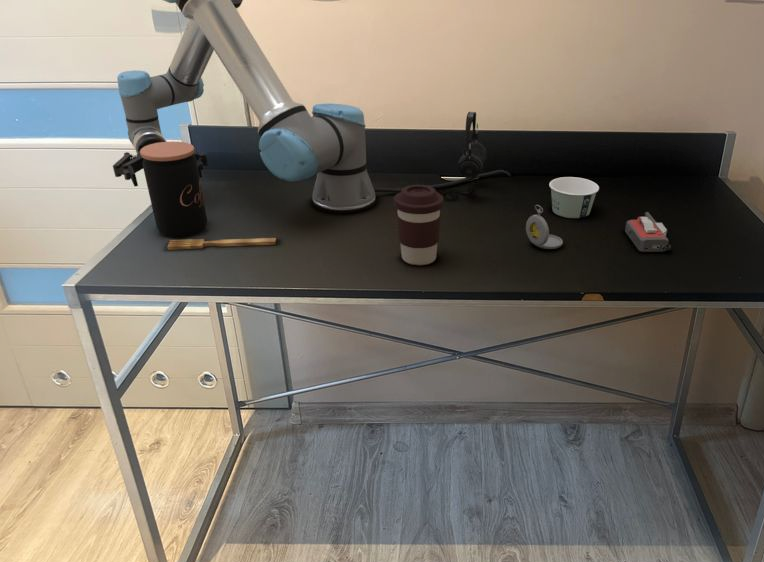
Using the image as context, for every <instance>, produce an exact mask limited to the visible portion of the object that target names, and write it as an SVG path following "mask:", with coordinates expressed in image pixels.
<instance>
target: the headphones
mask: <svg viewBox="0 0 764 562" xmlns="http://www.w3.org/2000/svg"><path fill="white" fill-rule="evenodd" d="M478 128H479V124H478V123H477V112H476V111H468V112H467V114H466V119H465V133H464V134H465V135H464V137H465V139H464V147H463V152H462V156H461V157H460V158H459V160H458V161H457V167H458V170H459V172H460V175H461V176H462V177H463V178H474V177H476V176H477V175H478V174H481V172H482V171H483V169H484V163H485V162H486V161H487V158H488V154H487V153H488V152H487V148H486V147H485V146H484V144H482V143H481V142H479V141H478V140H479V132H476V130H478ZM471 129H472V132H471ZM472 140H473V141H472ZM472 181H473V182H472V183H474V182H475V179H474V180H472ZM473 188H474V184H472V185H471V188H470V189H469V191H462V192H460V191H456V190H454V192H456V193H459V194H462V195H467V196H468V195H469V196H470V197H472V196H473V194H472V193H471V192H472V191H473ZM442 190H443V188H440V190H439V192H440V193H442V194H441V195H442V197H443V199H444V200H447V201H450V199H448V198H446V197H444V194H445V193H447V194H450V195H452V196H454V197H456V195H455V194H453V193H451V192H449V191H448V190H446V191H443V192H442ZM452 201H455V198H454V199H452Z"/></svg>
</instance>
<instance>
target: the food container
mask: <svg viewBox="0 0 764 562" xmlns="http://www.w3.org/2000/svg"><path fill="white" fill-rule="evenodd" d="M548 185H549V186H548V187H549V188H550V195H551V208H552V209H551V210H552V212H553V213H554V214H555V215H557V216H560V217H563V218H568V219H581V218H586V217H587V216H589V215H590V213H591V211H592V208H593V204H594V201H595V198H596V195H597V193H598V192H599V190H600V186H599V185H598V184H597V183H596V182H594V181H592V180H590V179H588V178H583V177H575V176H563V177H556V178H554V179H552V180H551V181H549V184H548Z"/></svg>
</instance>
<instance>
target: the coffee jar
mask: <svg viewBox="0 0 764 562" xmlns="http://www.w3.org/2000/svg"><path fill="white" fill-rule="evenodd" d="M194 151H195V146H193V144H191V143H189V142H184V141H172V140H171V141H166V142H159V143H154V144H150V145H147V146H145V147H143V148H142V149H141V150H140V154H141V156H142V157H143V158H144V160H143V169H142V170H143V173H144V177H145V183H146V186H147V190H148V195H149V200H150V204H151V208H152V212H153V217H154V222H155V227H156V229H158V232H159V233H161V235H163V236H165V237H167V238H168V237H169V238H176V239H177V238H178V239H179V238H180V239H181V238H188V237H189V238H190V237H192V236H196V235H199V234H201V233H202V232H204V230H205V229H206V227H207V226H208V216H207V210H206V205H205V199H204V194H203V188H202V184H201V183H202V182H201V178H200V177H199V171H198V166H197V160H196V158H195V157H194V156H193V153H194Z"/></svg>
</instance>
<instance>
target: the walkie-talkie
mask: <svg viewBox="0 0 764 562" xmlns="http://www.w3.org/2000/svg"><path fill="white" fill-rule="evenodd" d="M624 232H625V234H626V235H627V237H629V239H630V241H631V243H633V244H634V246H635V247H636V249H637V250H638V252H641V253H664V252H667V251H670V250H671V249H672V246H671V244H670V243H669V241H670V240H669V238H668V237H667V233H668V229H667V228H666V227H665V225H664V224H663V222H657V220H655V219H654V217H653V216H652V215H651V214H650V212H649V211H646V212H645V213H644V216H637V218H636V219H629V220H627V221H626V222H625V229H624ZM667 246H668V247H667ZM657 247H659V248H657ZM645 248H648V249H645ZM663 248H664V249H663Z"/></svg>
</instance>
